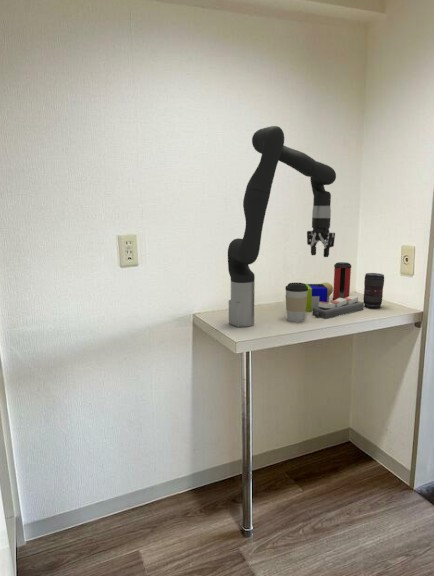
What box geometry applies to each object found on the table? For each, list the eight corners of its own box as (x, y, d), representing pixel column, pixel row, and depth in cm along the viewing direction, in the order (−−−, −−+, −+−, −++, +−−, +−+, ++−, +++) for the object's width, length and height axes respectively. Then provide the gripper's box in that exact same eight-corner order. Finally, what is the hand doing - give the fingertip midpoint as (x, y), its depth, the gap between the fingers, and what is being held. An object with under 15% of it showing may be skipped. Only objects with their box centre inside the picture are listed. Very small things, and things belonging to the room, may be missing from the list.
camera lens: (383, 309, 184) (386, 276, 181) (364, 309, 185) (366, 275, 182) (380, 305, 192) (382, 272, 188) (361, 304, 193) (363, 272, 190)
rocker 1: (324, 308, 173) (325, 303, 172) (318, 306, 176) (319, 301, 175) (334, 308, 176) (335, 303, 176) (327, 306, 179) (328, 301, 179)
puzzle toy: (326, 311, 183) (327, 288, 181) (303, 311, 183) (304, 288, 181) (321, 305, 192) (322, 283, 190) (299, 305, 193) (300, 284, 191)
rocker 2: (337, 307, 177) (336, 303, 176) (330, 306, 180) (330, 301, 179) (346, 303, 180) (346, 298, 179) (340, 301, 183) (339, 297, 182)
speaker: (332, 302, 198) (334, 264, 194) (332, 298, 205) (333, 261, 201) (350, 303, 196) (352, 264, 192) (348, 299, 203) (350, 262, 199)
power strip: (322, 319, 170) (322, 311, 170) (309, 315, 176) (309, 308, 175) (363, 309, 184) (363, 302, 184) (350, 306, 190) (350, 299, 189)
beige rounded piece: (314, 303, 196) (316, 282, 194) (325, 301, 199) (326, 281, 197) (324, 306, 190) (325, 284, 188) (335, 304, 193) (336, 283, 191)
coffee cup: (284, 315, 176) (285, 280, 173) (306, 316, 175) (307, 281, 172) (284, 322, 168) (285, 285, 164) (307, 323, 166) (309, 285, 163)
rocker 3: (349, 305, 181) (348, 300, 180) (342, 303, 184) (342, 299, 183) (358, 300, 184) (358, 296, 183) (351, 299, 187) (351, 294, 186)
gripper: (302, 216, 182) (301, 255, 185) (328, 217, 170) (326, 258, 173) (314, 215, 186) (313, 253, 189) (340, 217, 174) (338, 257, 178)
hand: (319, 255), depth 181 cm, fingers open, 6 cm apart
